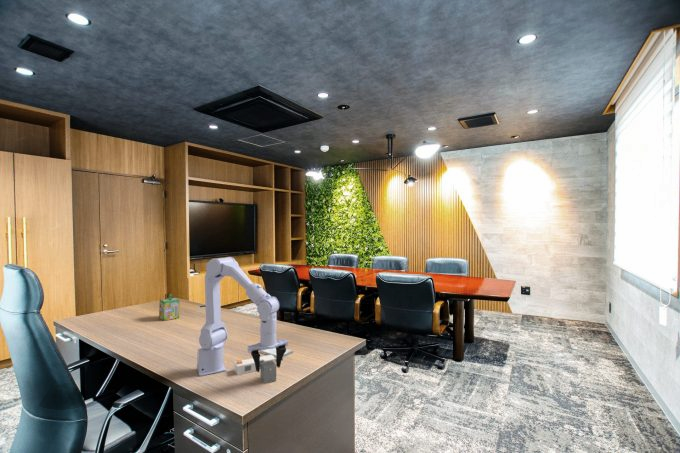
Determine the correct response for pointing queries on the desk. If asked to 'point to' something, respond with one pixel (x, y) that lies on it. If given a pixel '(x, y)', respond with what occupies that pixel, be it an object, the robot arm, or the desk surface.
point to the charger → (268, 371)
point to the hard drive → (273, 352)
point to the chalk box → (169, 308)
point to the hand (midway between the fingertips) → (268, 368)
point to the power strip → (250, 364)
